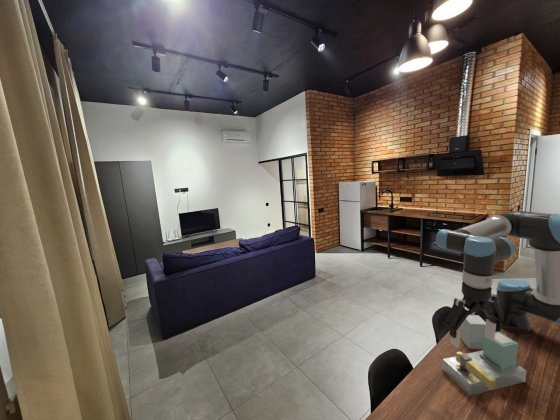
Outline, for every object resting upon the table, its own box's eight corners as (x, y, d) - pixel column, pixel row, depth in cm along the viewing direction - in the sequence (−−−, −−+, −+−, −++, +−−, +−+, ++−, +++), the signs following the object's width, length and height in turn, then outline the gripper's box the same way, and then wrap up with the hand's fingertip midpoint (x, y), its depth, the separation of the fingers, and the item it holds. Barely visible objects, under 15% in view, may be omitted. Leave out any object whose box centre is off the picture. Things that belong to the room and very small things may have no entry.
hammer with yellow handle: (461, 361, 96) (461, 349, 95) (496, 391, 83) (497, 378, 82) (454, 362, 96) (455, 351, 95) (488, 393, 82) (489, 380, 82)
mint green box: (496, 352, 99) (498, 331, 98) (515, 366, 93) (518, 342, 91) (482, 355, 98) (484, 334, 97) (500, 369, 91) (503, 346, 90)
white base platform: (492, 358, 103) (493, 345, 102) (525, 381, 91) (526, 368, 90) (442, 369, 99) (443, 356, 98) (469, 395, 87) (470, 381, 86)
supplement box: (487, 350, 107) (489, 325, 105) (468, 348, 109) (470, 324, 107) (477, 338, 114) (479, 315, 112) (459, 337, 116) (461, 314, 114)
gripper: (452, 294, 72) (448, 356, 76) (522, 284, 75) (515, 343, 79) (433, 283, 80) (430, 339, 83) (497, 274, 83) (492, 329, 86)
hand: (472, 341), depth 81 cm, fingers open, 13 cm apart
